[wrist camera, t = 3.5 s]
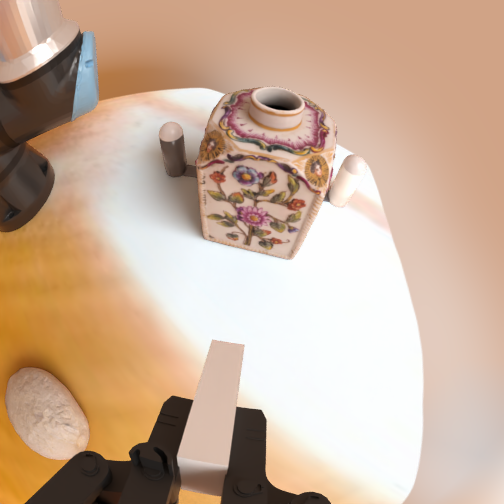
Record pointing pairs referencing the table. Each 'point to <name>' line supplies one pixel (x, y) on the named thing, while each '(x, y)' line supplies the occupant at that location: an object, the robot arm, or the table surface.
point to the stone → (46, 414)
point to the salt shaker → (347, 180)
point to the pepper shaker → (173, 149)
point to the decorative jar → (264, 169)
